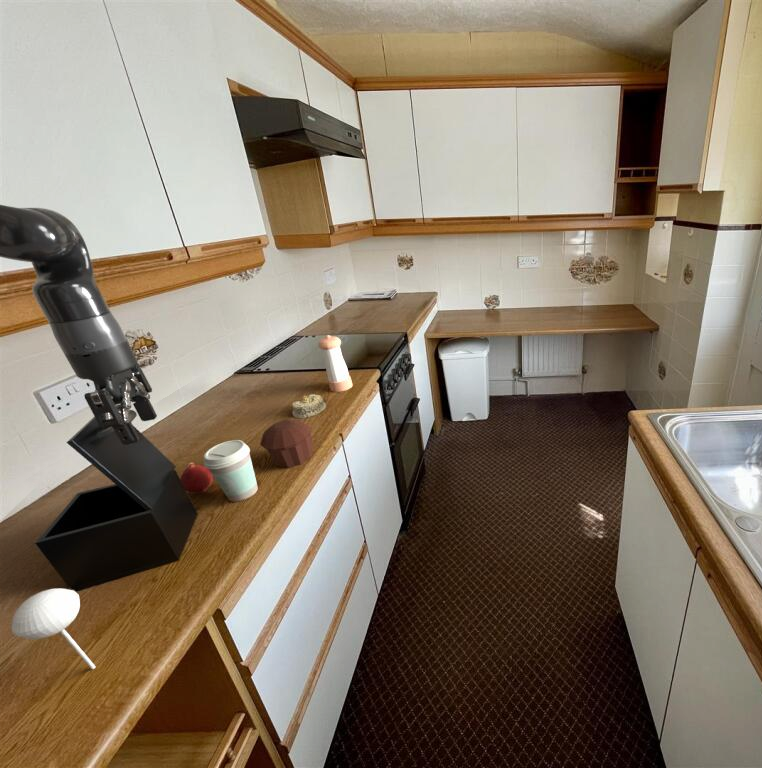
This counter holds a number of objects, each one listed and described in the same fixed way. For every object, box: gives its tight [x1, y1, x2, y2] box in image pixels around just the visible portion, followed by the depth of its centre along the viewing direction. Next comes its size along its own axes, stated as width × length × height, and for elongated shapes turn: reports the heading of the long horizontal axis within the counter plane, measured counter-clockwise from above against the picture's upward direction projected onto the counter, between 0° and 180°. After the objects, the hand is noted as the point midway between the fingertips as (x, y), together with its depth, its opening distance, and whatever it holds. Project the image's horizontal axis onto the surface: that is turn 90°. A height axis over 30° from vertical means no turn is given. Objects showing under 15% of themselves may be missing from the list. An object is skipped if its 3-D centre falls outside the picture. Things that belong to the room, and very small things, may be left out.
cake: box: [291, 393, 327, 419], centre depth 127 cm, size 10×10×5 cm
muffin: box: [259, 419, 314, 469], centre depth 102 cm, size 12×11×10 cm
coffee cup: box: [203, 439, 259, 502], centre depth 90 cm, size 8×8×12 cm
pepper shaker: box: [318, 334, 353, 393], centre depth 138 cm, size 7×7×19 cm
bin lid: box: [66, 409, 177, 511], centre depth 73 cm, size 16×14×5 cm
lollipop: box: [10, 587, 97, 671], centre depth 56 cm, size 6×6×15 cm
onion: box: [180, 462, 214, 494], centre depth 92 cm, size 6×6×8 cm
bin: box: [34, 469, 199, 593], centre depth 77 cm, size 16×14×12 cm
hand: (141, 430), depth 72 cm, fingers open, 8 cm apart
